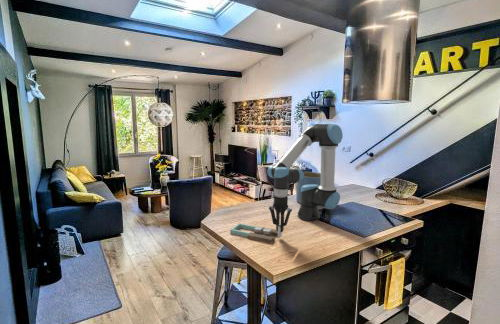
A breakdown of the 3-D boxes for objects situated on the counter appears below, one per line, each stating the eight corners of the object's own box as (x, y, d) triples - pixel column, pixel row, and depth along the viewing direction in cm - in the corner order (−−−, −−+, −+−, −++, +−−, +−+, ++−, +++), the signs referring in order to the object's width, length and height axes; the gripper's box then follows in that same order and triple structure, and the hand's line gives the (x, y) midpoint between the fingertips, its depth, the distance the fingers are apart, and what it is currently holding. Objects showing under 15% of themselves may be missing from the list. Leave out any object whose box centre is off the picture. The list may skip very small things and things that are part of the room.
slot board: (257, 231, 164) (257, 226, 163) (279, 235, 158) (279, 230, 157) (247, 239, 151) (247, 234, 151) (271, 245, 145) (271, 239, 145)
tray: (239, 228, 167) (239, 223, 167) (256, 231, 162) (256, 226, 162) (230, 234, 158) (230, 229, 157) (248, 238, 152) (248, 233, 152)
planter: (305, 207, 209) (306, 178, 206) (290, 199, 230) (291, 172, 226) (329, 204, 218) (330, 176, 214) (312, 197, 239) (313, 171, 235)
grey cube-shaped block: (256, 232, 158) (256, 226, 158) (263, 234, 157) (263, 227, 156) (253, 235, 155) (253, 228, 154) (260, 236, 153) (260, 230, 153)
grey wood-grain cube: (265, 234, 156) (265, 228, 155) (271, 235, 154) (272, 229, 154) (262, 237, 152) (262, 230, 152) (269, 238, 151) (269, 231, 150)
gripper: (267, 195, 146) (266, 237, 149) (290, 199, 140) (288, 241, 144) (272, 192, 153) (271, 232, 156) (294, 195, 147) (292, 236, 151)
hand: (279, 236), depth 150 cm, fingers closed
